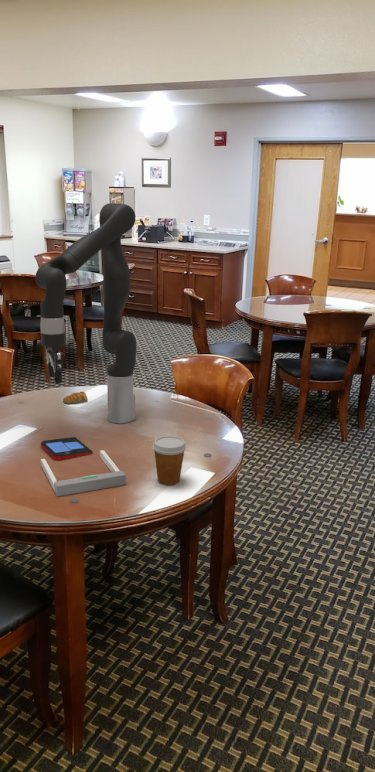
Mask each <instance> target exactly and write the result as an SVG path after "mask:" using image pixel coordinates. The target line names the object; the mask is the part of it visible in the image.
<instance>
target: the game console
mask: <svg viewBox="0 0 375 772" xmlns="http://www.w3.org/2000/svg"><path fill="white" fill-rule="evenodd" d="M40 447H41V449H43V450H44V452H45V453H46V454H47V455H49V457H51V459H52V460H53V461H57V462H58V461H64V460H65V461H66V460H69V459H73V458H79V457H80V458H81V457H83V456H89V455H92V454H93V450H92V449H90V448H89V447H88V446H87V445H85V444H84V443H83V442H82V441H81V440H79V439H78V437H74V436H73V437H64V438H63V437H62V438H55V439H46V440H42V441H41V442H40Z"/></svg>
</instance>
